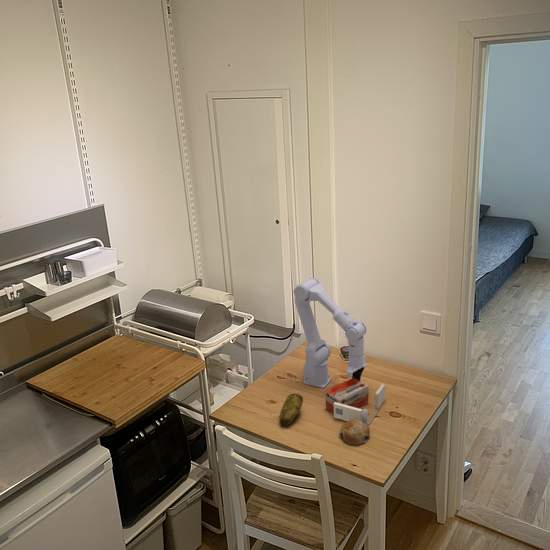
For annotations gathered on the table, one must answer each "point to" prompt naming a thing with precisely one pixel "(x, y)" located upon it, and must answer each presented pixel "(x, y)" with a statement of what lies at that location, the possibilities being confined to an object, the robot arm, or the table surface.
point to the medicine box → (347, 394)
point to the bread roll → (355, 432)
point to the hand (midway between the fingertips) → (356, 383)
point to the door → (347, 412)
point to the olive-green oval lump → (290, 408)
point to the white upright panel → (378, 401)
